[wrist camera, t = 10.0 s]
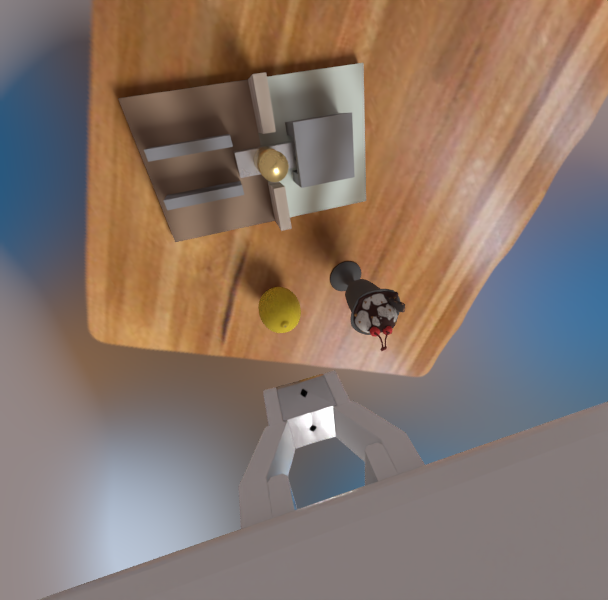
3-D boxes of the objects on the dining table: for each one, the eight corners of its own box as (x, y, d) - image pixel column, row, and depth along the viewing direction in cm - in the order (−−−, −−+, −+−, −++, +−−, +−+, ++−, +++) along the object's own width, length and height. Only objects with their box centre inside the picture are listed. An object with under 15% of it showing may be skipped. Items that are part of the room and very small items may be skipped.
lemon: (249, 286, 41) (256, 318, 35) (286, 271, 42) (299, 300, 35) (263, 316, 44) (272, 350, 38) (297, 302, 45) (312, 334, 38)
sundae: (322, 297, 45) (363, 364, 33) (327, 256, 42) (374, 314, 30) (361, 294, 47) (414, 357, 35) (369, 255, 44) (431, 308, 31)
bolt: (239, 176, 32) (244, 188, 27) (233, 150, 31) (237, 157, 25) (342, 156, 34) (367, 164, 28) (340, 131, 33) (367, 133, 27)
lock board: (176, 238, 35) (171, 255, 31) (121, 99, 28) (104, 95, 24) (362, 198, 39) (380, 208, 35) (358, 64, 31) (381, 55, 27)
